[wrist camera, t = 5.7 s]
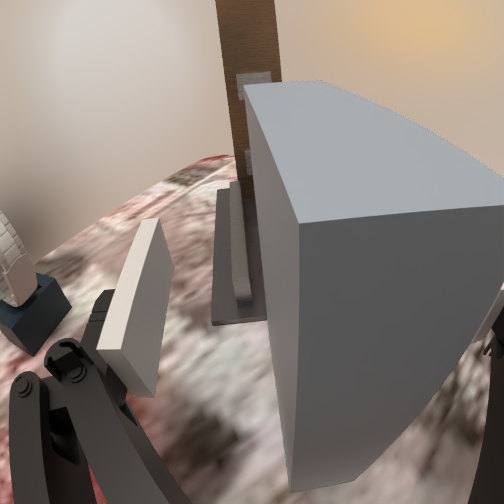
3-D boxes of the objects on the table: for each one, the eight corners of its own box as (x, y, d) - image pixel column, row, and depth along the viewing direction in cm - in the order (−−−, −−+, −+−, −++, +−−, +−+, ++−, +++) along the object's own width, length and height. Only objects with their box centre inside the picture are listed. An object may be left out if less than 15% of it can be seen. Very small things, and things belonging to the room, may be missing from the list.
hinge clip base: (305, 183, 35) (292, -15, 21) (363, 305, 20) (373, -79, 6) (217, 192, 35) (188, -6, 21) (212, 325, 20) (136, -72, 6)
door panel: (313, 314, 20) (315, 78, 11) (353, 480, 11) (534, 202, 2) (267, 321, 20) (242, 83, 11) (290, 492, 11) (298, 224, 2)
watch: (33, 292, 24) (-19, 189, 17) (85, 312, 21) (23, 184, 15) (-2, 333, 20) (-67, 230, 13) (45, 365, 17) (-43, 238, 11)
